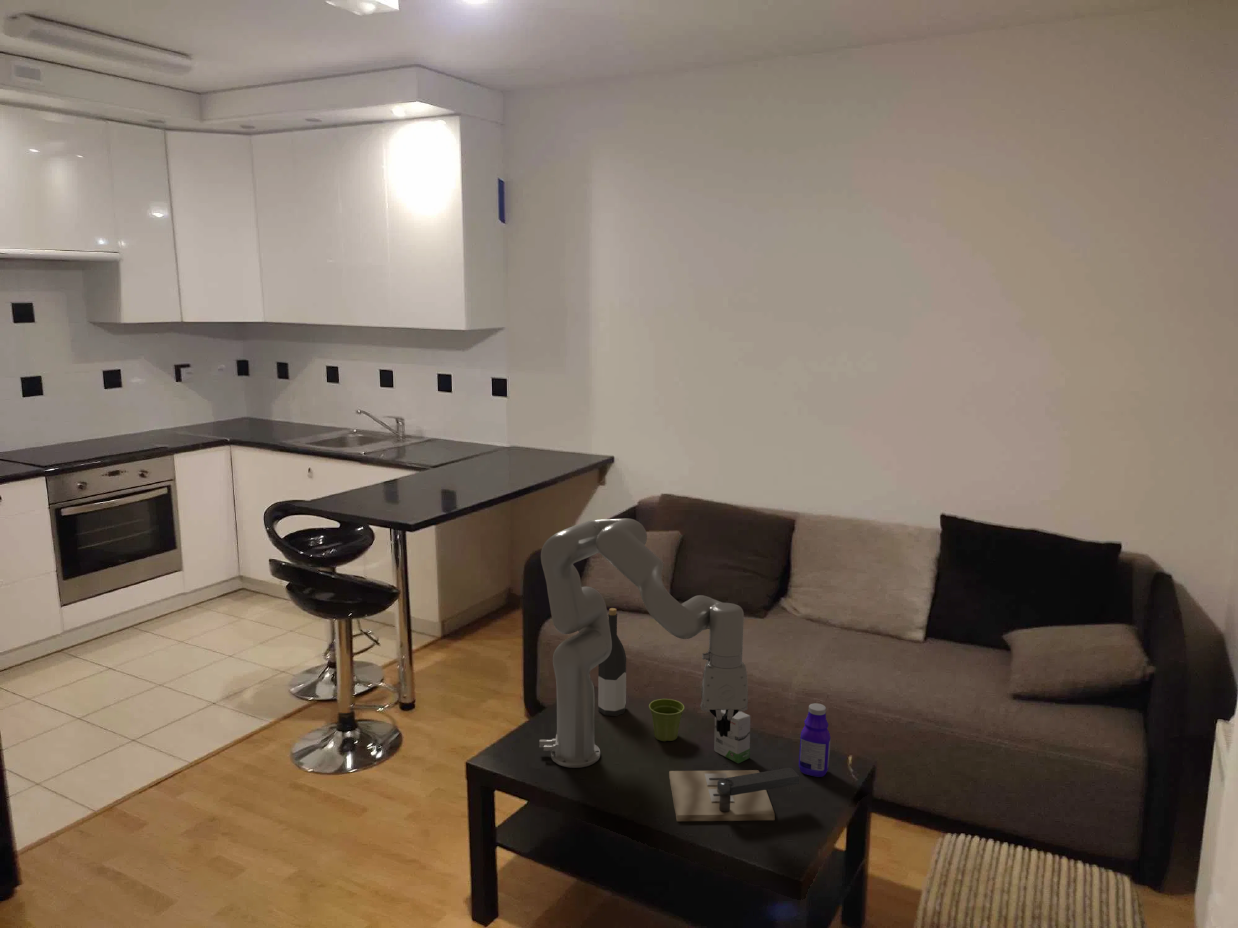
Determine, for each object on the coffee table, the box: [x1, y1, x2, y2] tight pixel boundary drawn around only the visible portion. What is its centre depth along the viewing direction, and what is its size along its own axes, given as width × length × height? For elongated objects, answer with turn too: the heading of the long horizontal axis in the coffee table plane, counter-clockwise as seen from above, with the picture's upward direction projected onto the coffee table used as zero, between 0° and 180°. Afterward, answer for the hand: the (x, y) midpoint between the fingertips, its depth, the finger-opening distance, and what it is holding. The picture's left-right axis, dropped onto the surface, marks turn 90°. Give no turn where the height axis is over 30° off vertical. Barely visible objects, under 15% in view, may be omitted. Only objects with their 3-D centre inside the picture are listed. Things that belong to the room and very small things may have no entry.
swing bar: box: [717, 766, 800, 796], centre depth 202 cm, size 4×19×2 cm, turn 107°
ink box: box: [713, 710, 751, 764], centre depth 227 cm, size 9×5×12 cm, turn 39°
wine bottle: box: [597, 607, 627, 717], centre depth 250 cm, size 8×8×30 cm
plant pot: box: [648, 698, 685, 742], centre depth 237 cm, size 9×9×9 cm
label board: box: [668, 769, 776, 822], centre depth 208 cm, size 22×19×6 cm
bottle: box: [798, 703, 832, 778], centre depth 219 cm, size 7×6×17 cm
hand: (723, 733), depth 204 cm, fingers closed
